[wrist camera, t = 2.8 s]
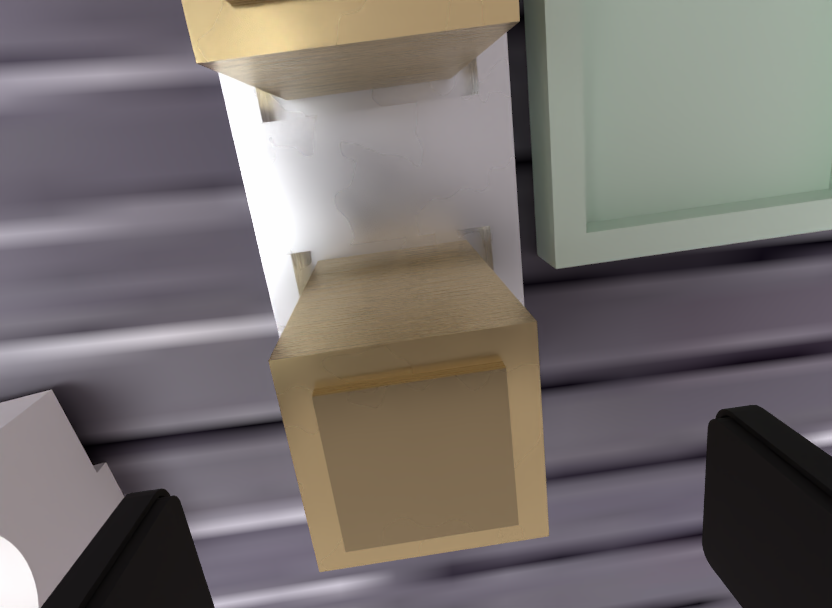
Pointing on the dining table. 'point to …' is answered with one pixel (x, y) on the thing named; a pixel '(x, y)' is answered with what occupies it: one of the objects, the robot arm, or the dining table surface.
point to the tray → (677, 124)
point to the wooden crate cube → (412, 406)
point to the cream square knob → (342, 41)
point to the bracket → (45, 499)
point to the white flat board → (379, 172)
